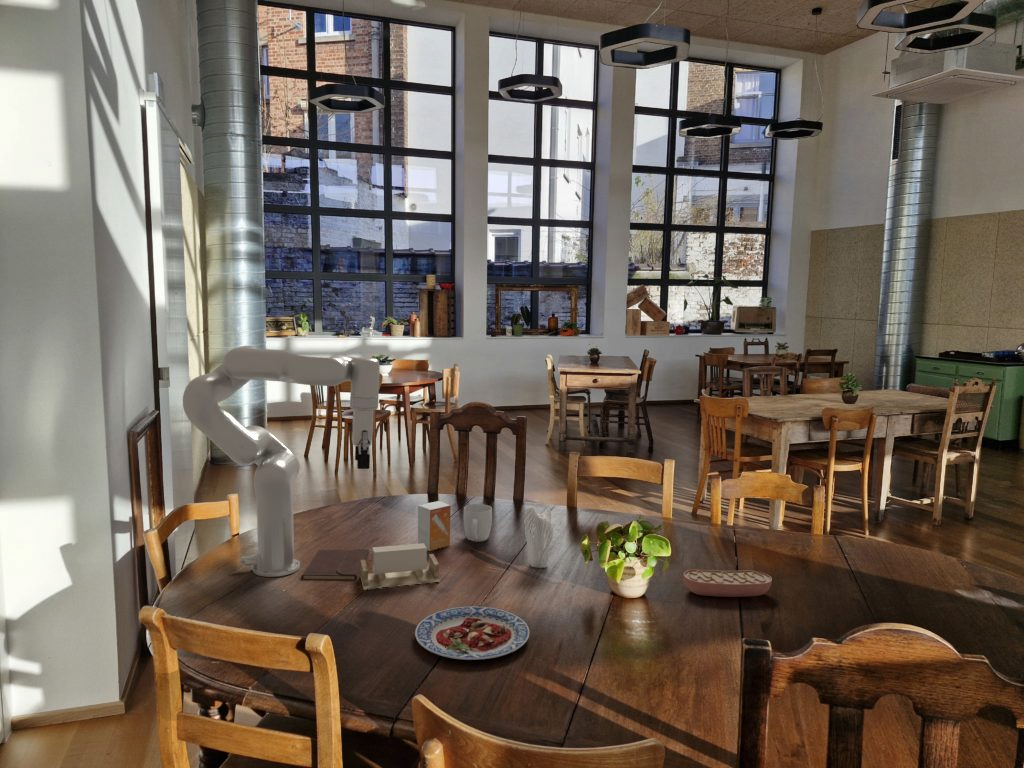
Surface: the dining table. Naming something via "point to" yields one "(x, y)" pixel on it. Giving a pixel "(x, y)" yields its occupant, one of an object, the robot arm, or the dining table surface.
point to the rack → (400, 576)
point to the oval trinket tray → (727, 583)
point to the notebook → (336, 564)
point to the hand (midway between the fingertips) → (362, 464)
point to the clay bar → (399, 558)
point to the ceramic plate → (472, 633)
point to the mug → (477, 521)
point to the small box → (434, 525)
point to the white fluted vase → (538, 536)
